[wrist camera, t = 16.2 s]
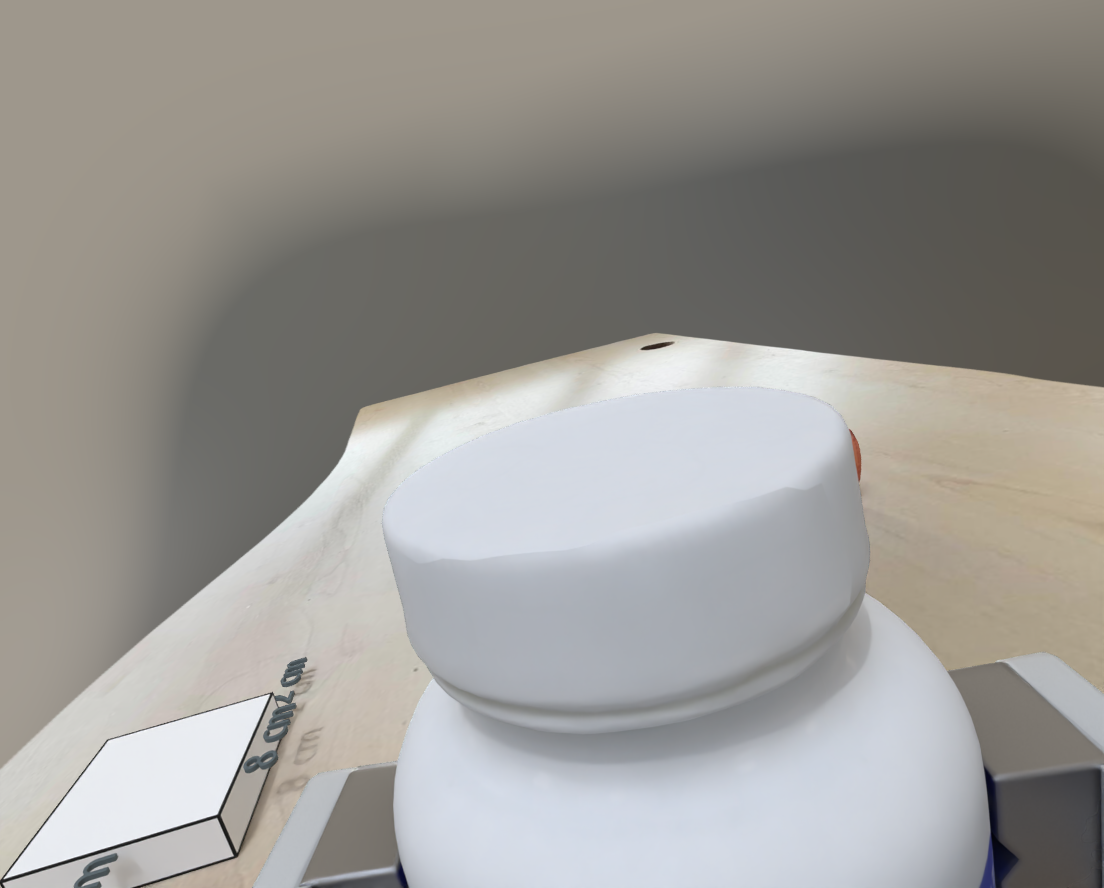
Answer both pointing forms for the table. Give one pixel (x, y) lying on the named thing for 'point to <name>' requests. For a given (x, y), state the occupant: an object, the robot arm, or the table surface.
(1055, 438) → the table surface
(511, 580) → the pill bottle
